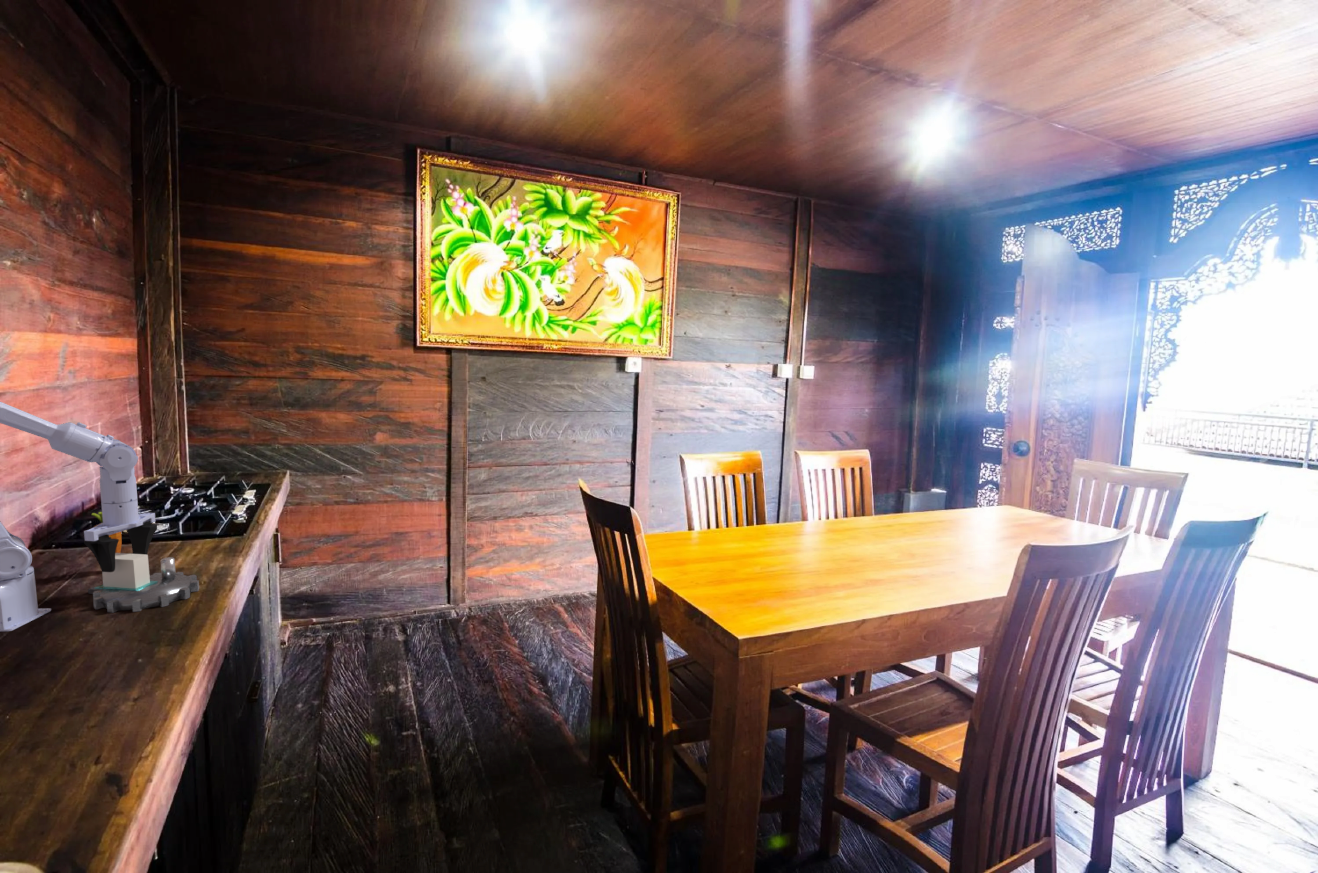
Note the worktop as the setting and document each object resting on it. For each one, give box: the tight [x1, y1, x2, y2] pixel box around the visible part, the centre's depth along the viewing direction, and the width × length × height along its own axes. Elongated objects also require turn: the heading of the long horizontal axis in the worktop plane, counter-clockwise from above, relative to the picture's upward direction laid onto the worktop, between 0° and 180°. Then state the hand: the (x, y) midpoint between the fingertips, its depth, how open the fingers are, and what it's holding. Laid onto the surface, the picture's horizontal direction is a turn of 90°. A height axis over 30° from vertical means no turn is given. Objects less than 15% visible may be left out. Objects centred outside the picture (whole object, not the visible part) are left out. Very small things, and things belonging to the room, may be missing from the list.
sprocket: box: [92, 556, 200, 614], centre depth 138 cm, size 17×17×6 cm
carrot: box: [91, 511, 123, 553], centre depth 150 cm, size 5×5×15 cm
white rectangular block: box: [101, 552, 150, 589], centre depth 138 cm, size 7×4×6 cm, turn 85°
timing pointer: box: [87, 586, 103, 595], centre depth 139 cm, size 3×1×1 cm, turn 86°
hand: (124, 565), depth 137 cm, fingers open, 7 cm apart
